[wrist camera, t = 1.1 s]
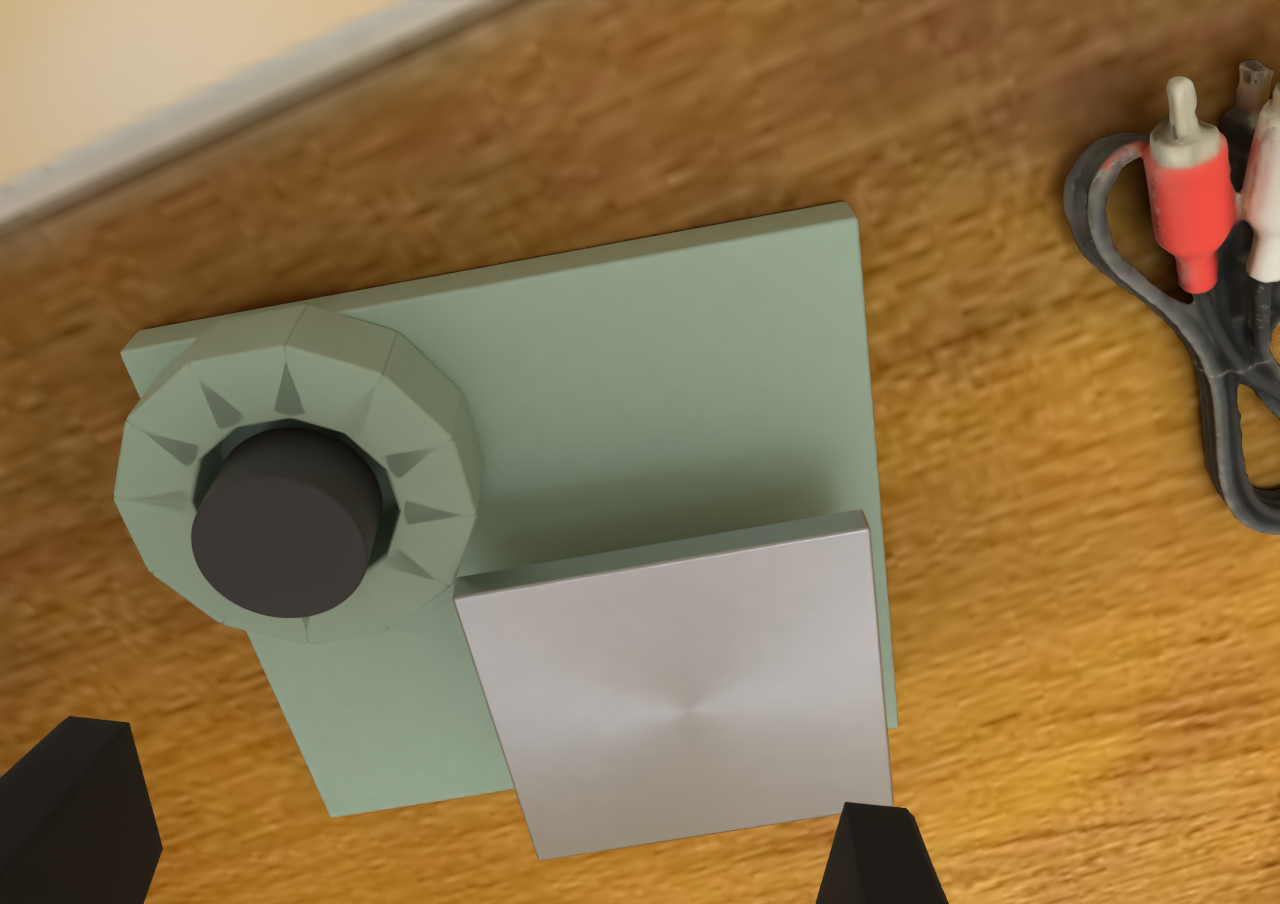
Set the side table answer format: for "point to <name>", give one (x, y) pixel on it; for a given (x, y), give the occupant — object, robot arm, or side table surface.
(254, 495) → the tare button
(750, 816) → the grey square plate
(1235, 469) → the composite cable
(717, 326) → the scale
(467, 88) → the side table surface
